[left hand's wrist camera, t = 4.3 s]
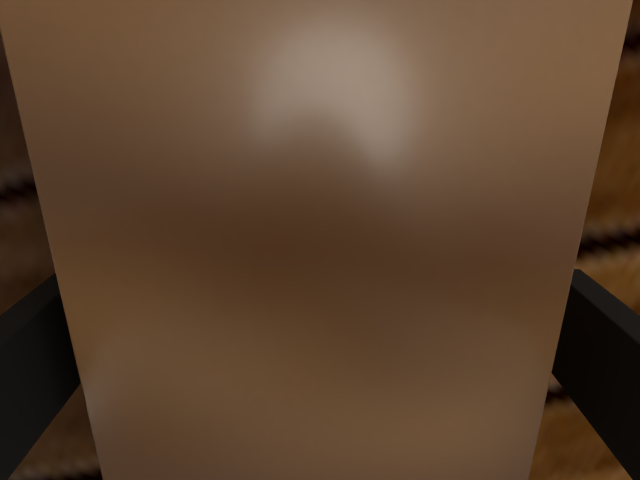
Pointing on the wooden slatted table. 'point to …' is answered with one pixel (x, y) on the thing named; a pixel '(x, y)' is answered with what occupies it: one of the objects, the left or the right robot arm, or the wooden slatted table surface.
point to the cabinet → (314, 223)
